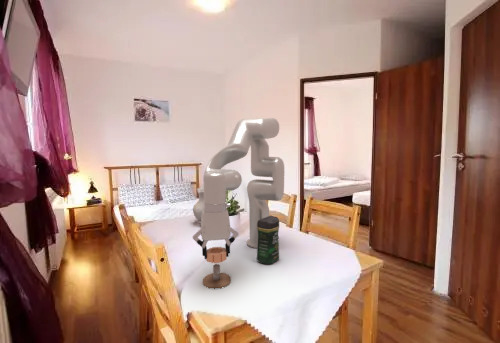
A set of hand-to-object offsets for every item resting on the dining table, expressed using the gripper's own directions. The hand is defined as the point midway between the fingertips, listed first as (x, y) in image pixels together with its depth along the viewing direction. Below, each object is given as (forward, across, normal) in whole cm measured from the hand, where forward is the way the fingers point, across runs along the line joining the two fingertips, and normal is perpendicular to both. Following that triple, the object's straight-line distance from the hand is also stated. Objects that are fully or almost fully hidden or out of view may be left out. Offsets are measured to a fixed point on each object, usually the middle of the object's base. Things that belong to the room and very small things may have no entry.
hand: (216, 256), depth 101 cm
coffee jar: (+10, -23, -13) cm, 28 cm away
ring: (+1, 0, 0) cm, 1 cm away
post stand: (+10, 0, 0) cm, 10 cm away
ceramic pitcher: (+10, -3, -71) cm, 72 cm away
